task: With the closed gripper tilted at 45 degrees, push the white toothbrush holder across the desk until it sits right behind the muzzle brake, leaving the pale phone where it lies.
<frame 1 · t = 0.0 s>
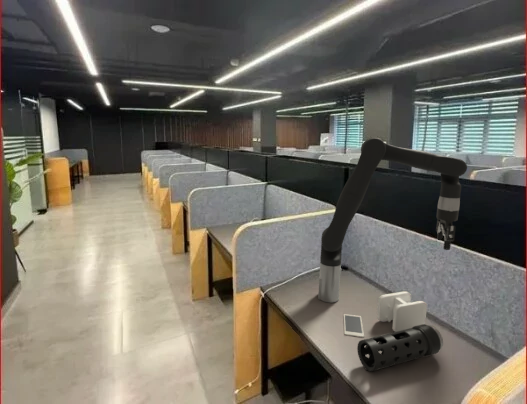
hand: (443, 246, 128), 29 cm above the table, tool pointing down, fingers open, 8 cm apart
white toothbrush holder: (399, 325, 123), on the table
muzzle brake: (399, 361, 103), on the table
phone: (353, 326, 122), on the table
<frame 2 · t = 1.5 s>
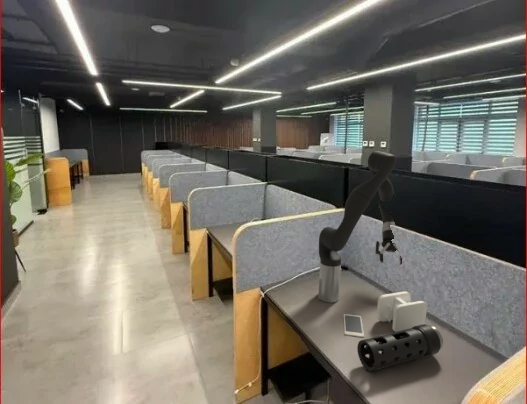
hand: (391, 263, 146), 15 cm above the table, tool tilted 45°, fingers open, 8 cm apart
nothing on the table moved.
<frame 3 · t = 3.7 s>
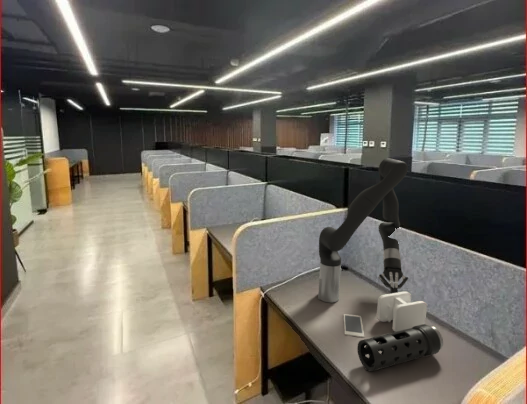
hand: (394, 296, 135), 5 cm above the table, tool tilted 45°, fingers closed
nothing on the table moved.
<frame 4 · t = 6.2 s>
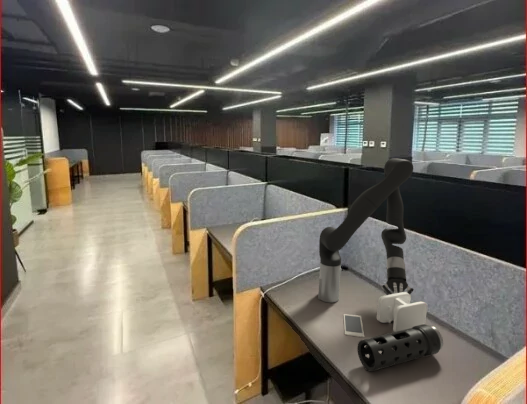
hand: (398, 309, 126), 4 cm above the table, tool tilted 45°, fingers closed
white toothbrush holder: (399, 326, 123), on the table, touching gripper
everything else where it was.
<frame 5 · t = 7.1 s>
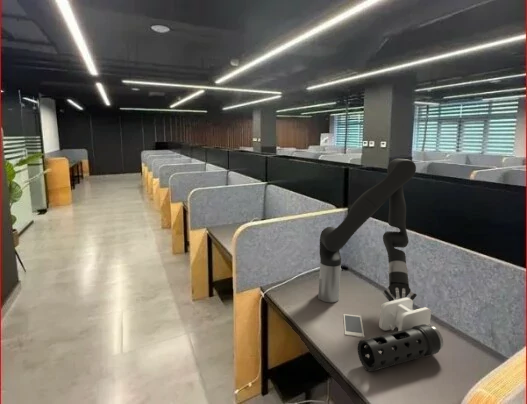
hand: (401, 316, 121), 4 cm above the table, tool tilted 45°, fingers closed
white toothbrush holder: (402, 333, 118), on the table, touching gripper
everything else where it was.
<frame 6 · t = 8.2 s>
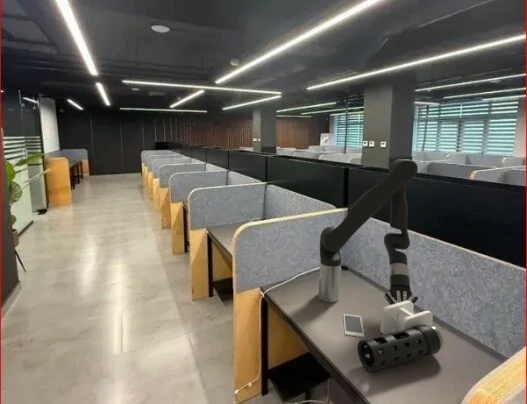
hand: (402, 319, 119), 4 cm above the table, tool tilted 45°, fingers closed
white toothbrush holder: (403, 337, 116), on the table
everything else where it was.
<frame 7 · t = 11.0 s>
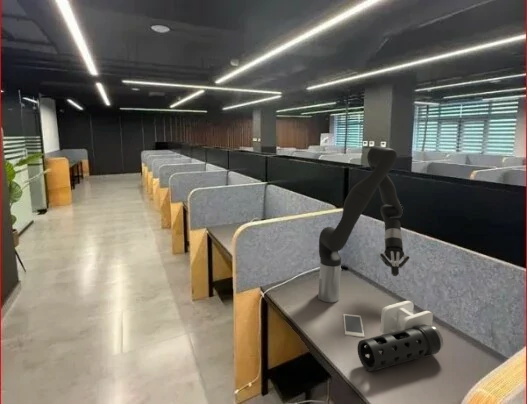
hand: (395, 275, 135), 14 cm above the table, tool tilted 45°, fingers closed
nothing on the table moved.
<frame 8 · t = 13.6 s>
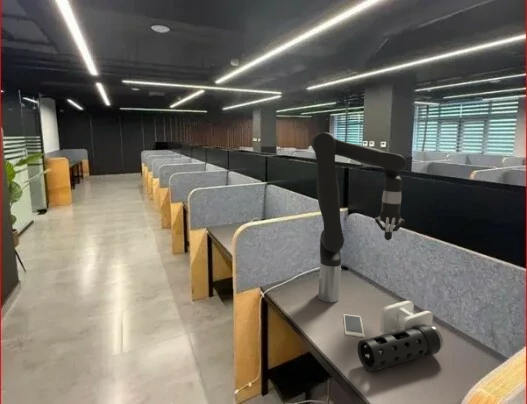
hand: (387, 239, 136), 29 cm above the table, tool pointing down, fingers closed
nothing on the table moved.
at the end: white toothbrush holder inside the target area on the table beside the muzzle brake (2.4 cm from its centre), on the table; white toothbrush holder tilted 0°; muzzle brake moved 0.4 cm from its start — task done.
